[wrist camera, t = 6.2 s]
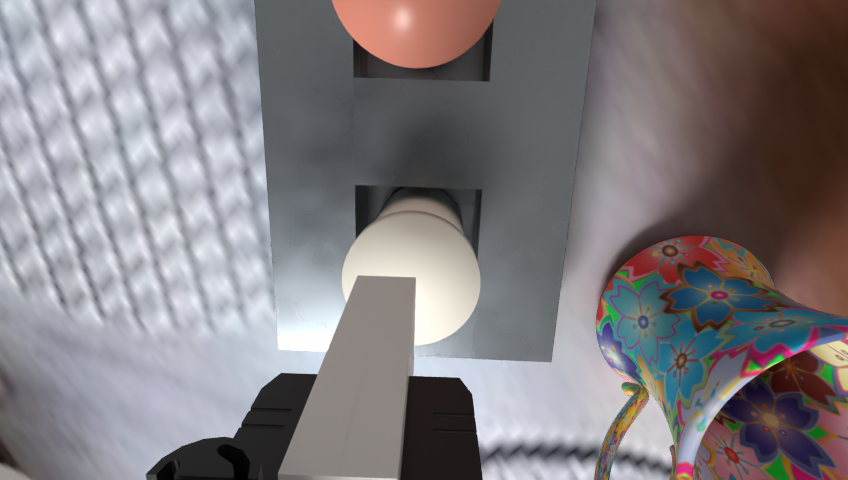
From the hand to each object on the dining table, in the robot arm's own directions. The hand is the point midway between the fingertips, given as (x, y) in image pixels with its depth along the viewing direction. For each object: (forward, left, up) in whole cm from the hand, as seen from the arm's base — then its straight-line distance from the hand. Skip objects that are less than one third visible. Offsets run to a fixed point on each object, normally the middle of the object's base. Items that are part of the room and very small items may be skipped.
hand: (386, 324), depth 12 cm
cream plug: (0, 0, -10) cm, 10 cm away
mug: (+12, -5, -11) cm, 18 cm away
